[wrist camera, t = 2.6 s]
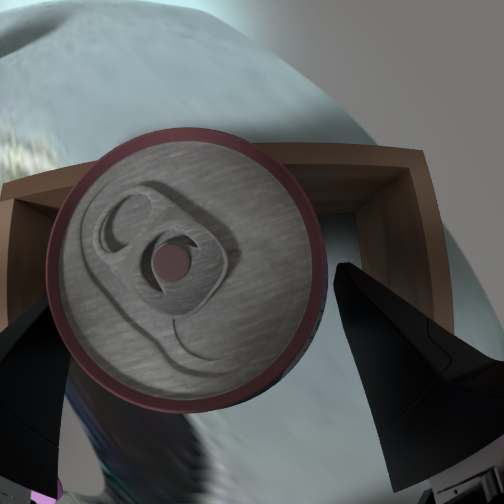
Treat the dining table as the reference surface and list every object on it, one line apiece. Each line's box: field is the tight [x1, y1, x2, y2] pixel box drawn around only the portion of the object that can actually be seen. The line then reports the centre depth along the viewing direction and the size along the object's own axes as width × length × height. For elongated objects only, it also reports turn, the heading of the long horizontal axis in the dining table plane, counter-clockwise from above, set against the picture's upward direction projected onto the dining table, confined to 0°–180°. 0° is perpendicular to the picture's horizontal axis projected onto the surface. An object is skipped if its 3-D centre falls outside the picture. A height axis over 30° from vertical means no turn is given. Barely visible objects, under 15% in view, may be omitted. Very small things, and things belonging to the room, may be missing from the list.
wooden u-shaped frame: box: [0, 143, 454, 362], centre depth 14 cm, size 9×21×7 cm, turn 94°
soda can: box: [46, 127, 328, 414], centre depth 11 cm, size 7×7×12 cm
